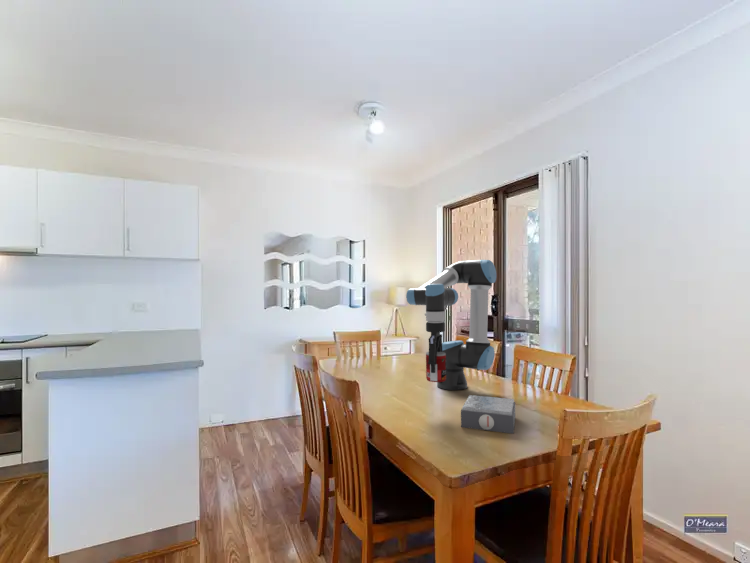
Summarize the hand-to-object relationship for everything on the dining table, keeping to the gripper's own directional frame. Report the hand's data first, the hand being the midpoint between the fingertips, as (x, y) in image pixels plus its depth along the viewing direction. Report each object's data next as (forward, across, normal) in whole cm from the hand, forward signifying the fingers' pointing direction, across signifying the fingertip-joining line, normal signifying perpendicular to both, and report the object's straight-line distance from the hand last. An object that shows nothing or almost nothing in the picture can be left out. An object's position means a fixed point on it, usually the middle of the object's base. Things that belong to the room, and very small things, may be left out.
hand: (436, 378), depth 159 cm
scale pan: (+8, +3, +21) cm, 23 cm away
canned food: (+1, 0, 0) cm, 1 cm away
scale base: (+14, +4, +21) cm, 25 cm away
